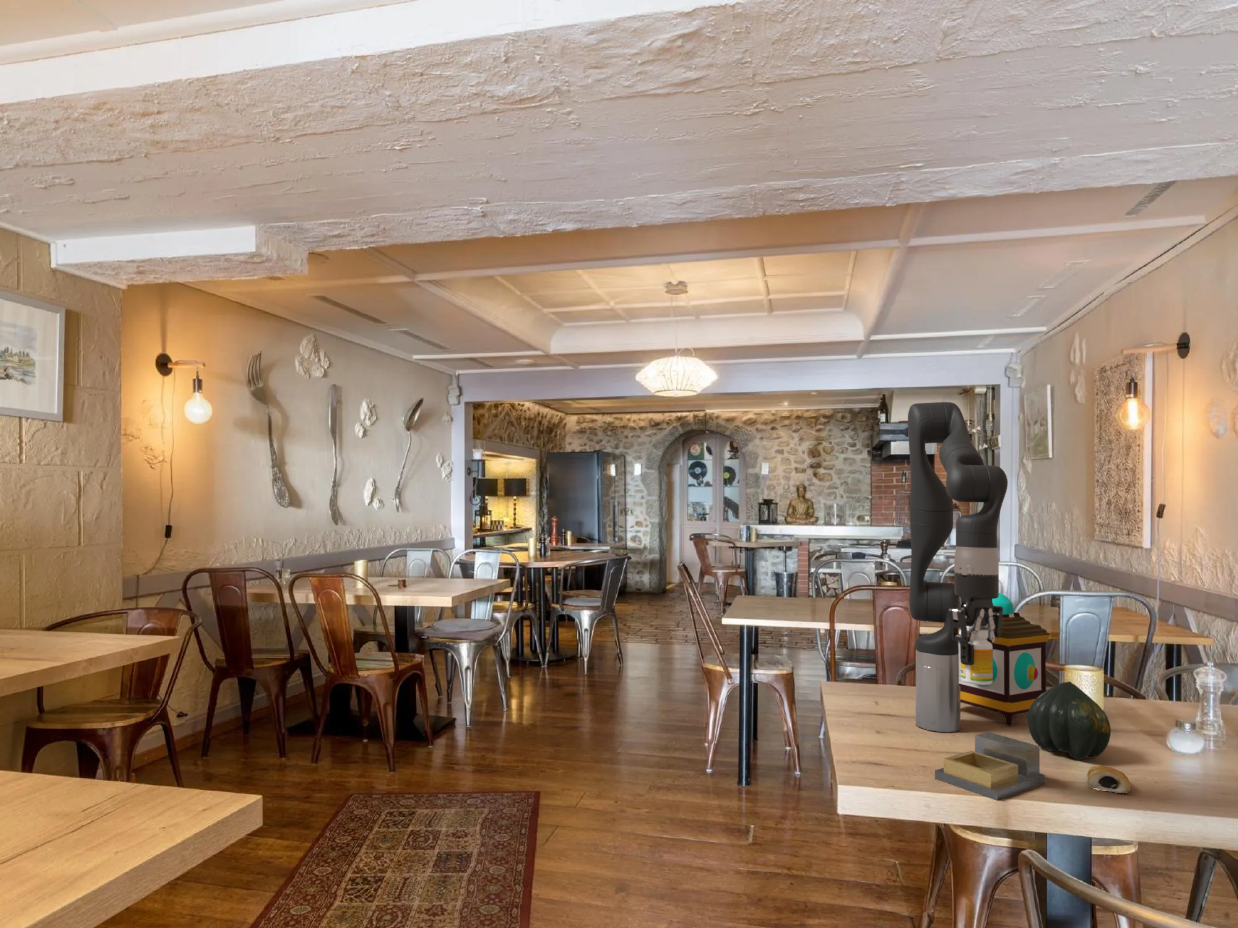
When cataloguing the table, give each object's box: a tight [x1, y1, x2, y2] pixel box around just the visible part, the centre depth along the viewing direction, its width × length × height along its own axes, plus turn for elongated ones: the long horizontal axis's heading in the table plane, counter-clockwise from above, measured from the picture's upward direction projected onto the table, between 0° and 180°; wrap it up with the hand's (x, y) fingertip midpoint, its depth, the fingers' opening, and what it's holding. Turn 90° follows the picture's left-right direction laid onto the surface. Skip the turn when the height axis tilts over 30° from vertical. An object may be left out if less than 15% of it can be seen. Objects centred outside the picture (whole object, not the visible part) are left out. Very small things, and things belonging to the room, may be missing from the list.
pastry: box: [1086, 765, 1132, 794], centre depth 139 cm, size 9×7×4 cm
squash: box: [1026, 680, 1112, 760], centre depth 158 cm, size 14×15×15 cm
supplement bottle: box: [961, 628, 993, 685], centre depth 140 cm, size 5×5×10 cm
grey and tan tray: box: [934, 731, 1046, 801], centre depth 140 cm, size 16×12×6 cm
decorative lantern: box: [958, 592, 1051, 728], centre depth 187 cm, size 20×20×30 cm
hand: (976, 662), depth 140 cm, fingers closed on supplement bottle, 5 cm apart
